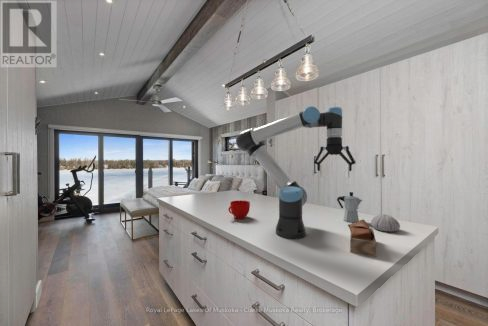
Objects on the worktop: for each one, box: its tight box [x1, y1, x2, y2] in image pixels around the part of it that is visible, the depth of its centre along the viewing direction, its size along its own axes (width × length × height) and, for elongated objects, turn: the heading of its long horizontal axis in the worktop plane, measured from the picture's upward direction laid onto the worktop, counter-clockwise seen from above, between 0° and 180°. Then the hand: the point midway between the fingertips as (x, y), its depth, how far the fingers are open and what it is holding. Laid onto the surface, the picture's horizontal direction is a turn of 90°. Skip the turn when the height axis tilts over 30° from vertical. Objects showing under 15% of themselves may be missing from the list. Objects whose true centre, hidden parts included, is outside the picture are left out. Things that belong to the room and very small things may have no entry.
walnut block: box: [349, 227, 377, 257], centre depth 92 cm, size 9×19×6 cm, turn 152°
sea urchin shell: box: [370, 214, 401, 233], centre depth 114 cm, size 13×14×8 cm
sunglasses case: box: [347, 219, 375, 240], centre depth 93 cm, size 18×7×7 cm
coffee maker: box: [336, 191, 363, 224], centre depth 131 cm, size 15×9×18 cm, turn 48°
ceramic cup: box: [227, 200, 251, 220], centre depth 136 cm, size 13×17×10 cm
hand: (333, 177), depth 111 cm, fingers open, 13 cm apart
